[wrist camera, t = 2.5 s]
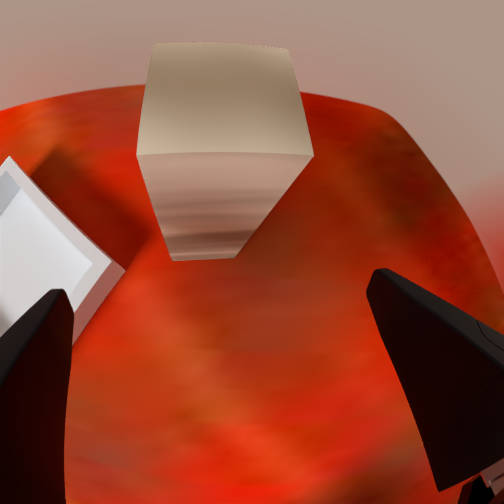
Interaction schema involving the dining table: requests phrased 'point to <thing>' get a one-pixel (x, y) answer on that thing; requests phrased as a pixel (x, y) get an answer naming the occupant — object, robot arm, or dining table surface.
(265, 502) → the dining table surface
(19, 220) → the box
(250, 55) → the birch block
